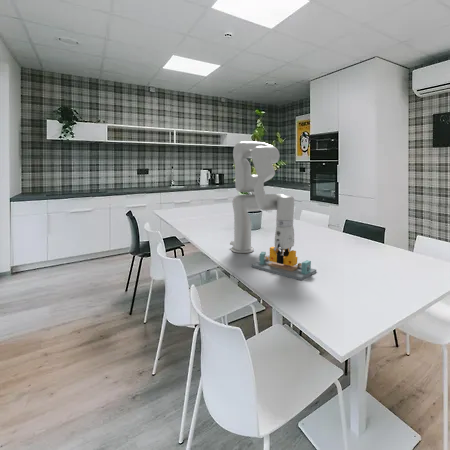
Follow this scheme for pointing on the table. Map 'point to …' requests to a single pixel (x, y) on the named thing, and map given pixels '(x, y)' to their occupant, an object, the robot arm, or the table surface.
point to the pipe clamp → (287, 260)
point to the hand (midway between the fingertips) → (283, 261)
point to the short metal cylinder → (265, 258)
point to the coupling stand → (285, 268)
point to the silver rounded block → (301, 266)
